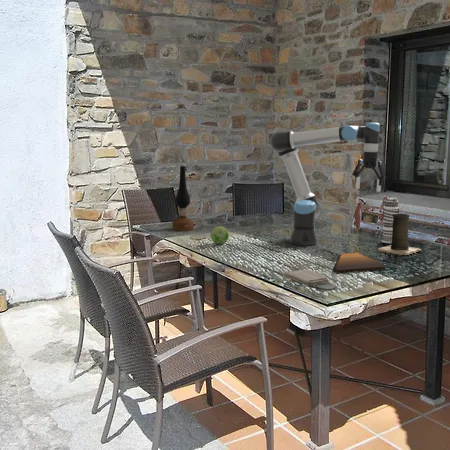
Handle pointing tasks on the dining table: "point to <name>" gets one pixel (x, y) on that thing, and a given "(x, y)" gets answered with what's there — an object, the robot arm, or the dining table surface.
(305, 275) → the washcloth
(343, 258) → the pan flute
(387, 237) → the decorative candle
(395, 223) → the container
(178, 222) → the oil lamp
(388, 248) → the oak board
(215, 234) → the decorative ball
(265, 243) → the dining table surface
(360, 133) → the robot arm
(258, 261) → the dining table surface
